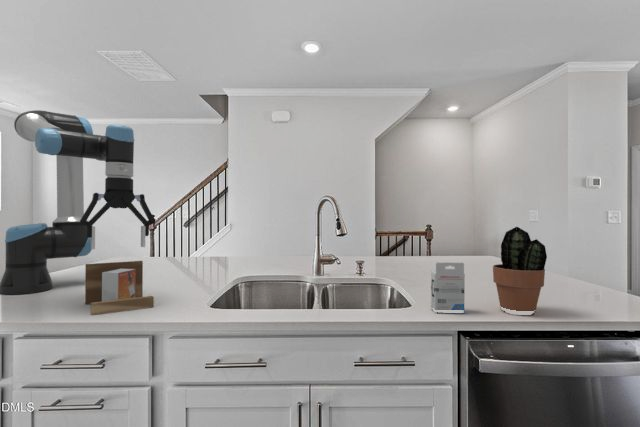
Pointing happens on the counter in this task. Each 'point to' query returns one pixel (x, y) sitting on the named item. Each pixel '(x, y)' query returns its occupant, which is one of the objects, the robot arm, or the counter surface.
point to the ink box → (448, 287)
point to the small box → (118, 284)
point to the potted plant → (520, 271)
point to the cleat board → (100, 307)
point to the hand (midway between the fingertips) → (118, 247)
